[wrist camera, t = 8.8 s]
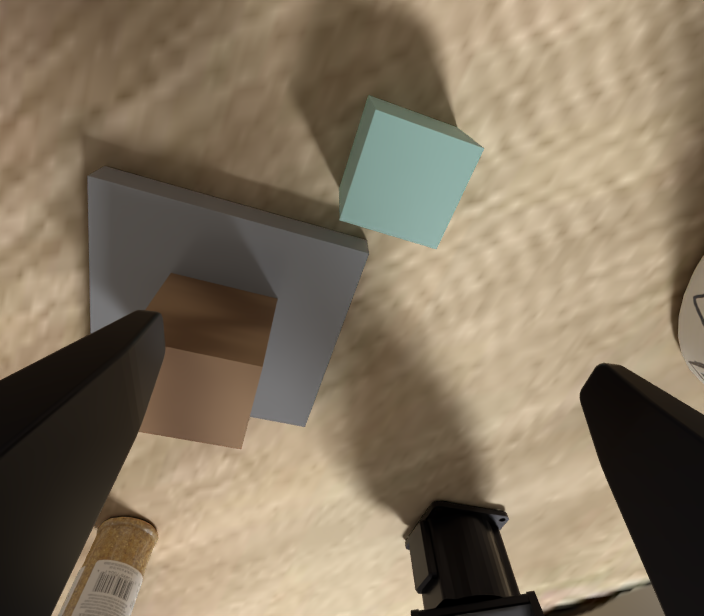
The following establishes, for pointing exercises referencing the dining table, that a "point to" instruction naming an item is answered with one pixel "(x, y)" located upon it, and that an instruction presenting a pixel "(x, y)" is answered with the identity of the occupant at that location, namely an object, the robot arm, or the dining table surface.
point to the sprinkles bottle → (112, 569)
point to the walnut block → (208, 360)
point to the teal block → (405, 173)
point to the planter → (693, 323)
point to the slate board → (226, 273)
